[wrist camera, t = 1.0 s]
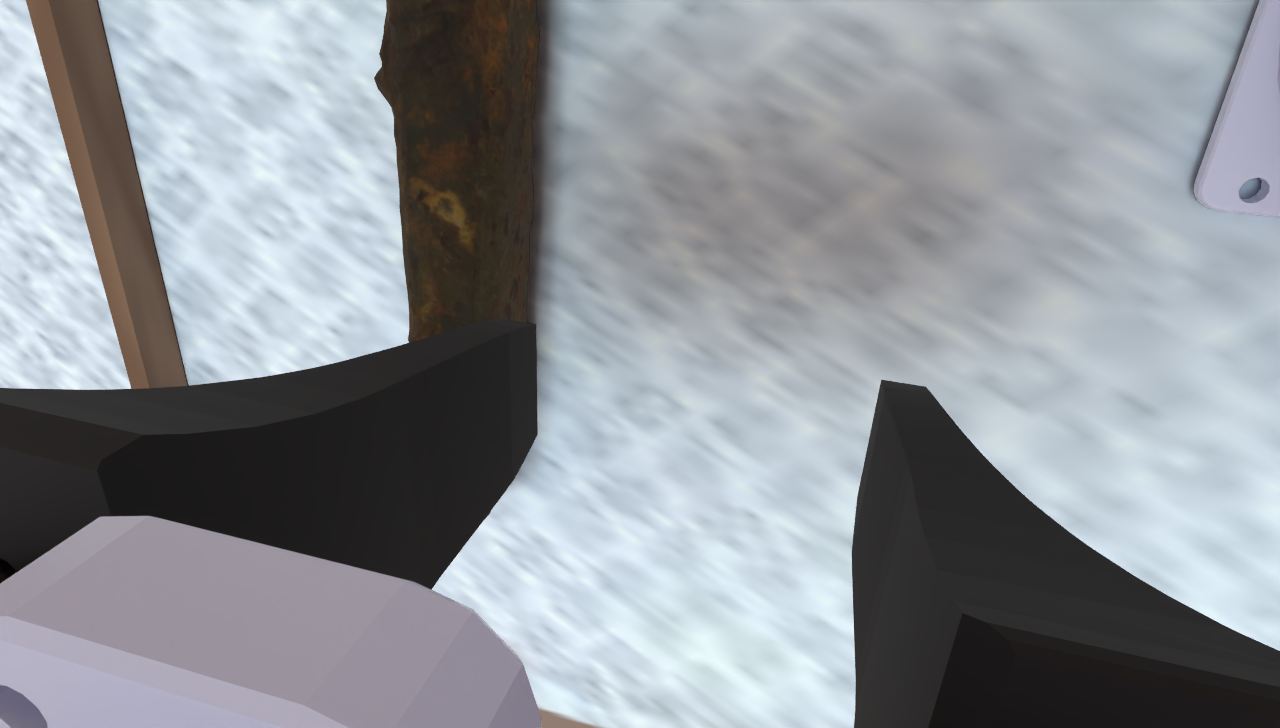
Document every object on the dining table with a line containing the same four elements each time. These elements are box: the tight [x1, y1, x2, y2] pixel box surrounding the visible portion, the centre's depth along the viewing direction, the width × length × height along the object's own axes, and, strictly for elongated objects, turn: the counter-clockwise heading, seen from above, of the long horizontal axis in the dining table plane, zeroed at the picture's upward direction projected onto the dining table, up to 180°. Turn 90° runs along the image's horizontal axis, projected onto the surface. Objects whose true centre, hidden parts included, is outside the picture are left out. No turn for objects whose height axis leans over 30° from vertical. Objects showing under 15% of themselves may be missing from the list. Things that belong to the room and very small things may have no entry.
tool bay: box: [26, 0, 187, 389], centre depth 23 cm, size 10×27×2 cm, turn 178°
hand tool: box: [374, 0, 540, 519], centre depth 20 cm, size 19×4×5 cm, turn 174°
